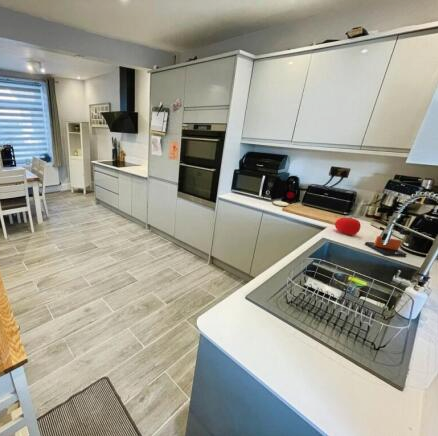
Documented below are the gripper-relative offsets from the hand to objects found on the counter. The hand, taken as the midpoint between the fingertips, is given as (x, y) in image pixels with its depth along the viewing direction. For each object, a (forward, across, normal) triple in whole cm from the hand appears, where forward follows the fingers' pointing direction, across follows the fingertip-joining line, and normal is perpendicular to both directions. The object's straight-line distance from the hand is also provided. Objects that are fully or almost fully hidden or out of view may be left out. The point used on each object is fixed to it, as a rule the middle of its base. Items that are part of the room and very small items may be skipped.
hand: (401, 231), depth 143 cm
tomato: (+13, +22, -12) cm, 28 cm away
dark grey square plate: (+8, -3, -12) cm, 15 cm away
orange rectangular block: (+8, -3, -10) cm, 13 cm away
